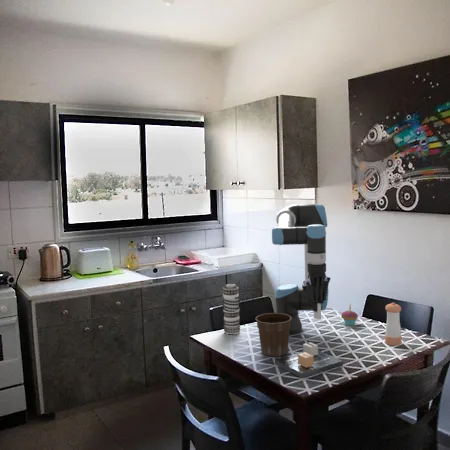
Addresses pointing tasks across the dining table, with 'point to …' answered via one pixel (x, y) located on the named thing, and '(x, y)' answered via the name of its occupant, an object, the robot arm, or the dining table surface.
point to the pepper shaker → (393, 325)
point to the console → (320, 364)
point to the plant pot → (274, 333)
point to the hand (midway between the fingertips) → (317, 318)
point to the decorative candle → (231, 309)
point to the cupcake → (349, 317)
